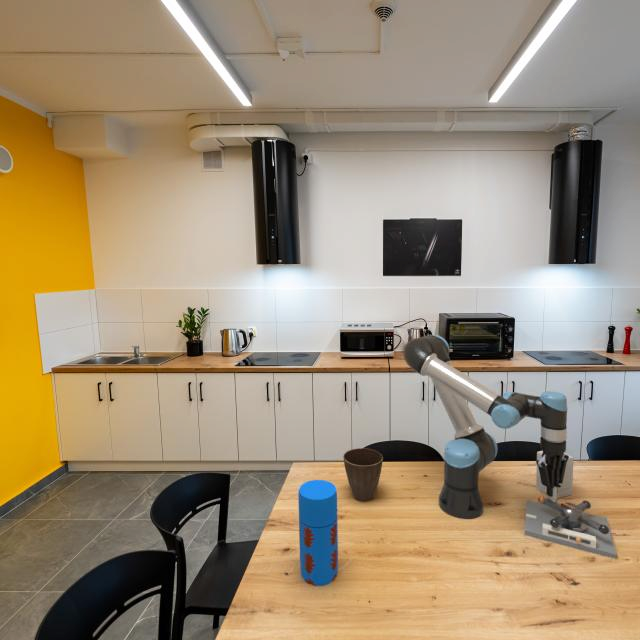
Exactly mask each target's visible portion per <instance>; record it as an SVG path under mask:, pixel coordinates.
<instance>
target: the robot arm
mask: <svg viewBox="0 0 640 640" xmlns="http://www.w3.org/2000/svg"><path fill="white" fill-rule="evenodd" d="M402 351H403V360H404V361H405V363H406V364H407V366H408V367H410V368H411V369H412V370H413V371H414V372H416V373H418V374H419V375H420V376H422V377H425V376H428V377H429V378H430V379H431V381H432V384H433V386H434V388H435V390H436V392H437V394H438V396H439V399H440V400H441V403H442V405H443V407H444V409H445V412H446V413H447V415H448V418H449V420H450V422H451V424H452V427H453V428H454V431H455V433H454V435H453V438H454V439H452V440H450V441H448V442H447V443H446V444H445V447H444V452H443V459H444V460H443V461H444V464H443V465H444V468H443V471H444V472H443V473H444V474H443V479H444V481H443V484H442V485H443V486H442V487H441V490H440V493H439V495H438V506H439V507H440V509H441V510H442V511H444V512H445V513H446V514H448V515H450V516H453V517H455V518H459V519H474V518H477V517H480V516H481V515H482V514H483V512H484V511H483V509H484V504H483V499H482V496H481V494H480V490H479V474H480V472H481V471H483V470H484V469H485V468H486V467H487V466H488V465H491V463H493V462H494V460H495V458H496V456H497V454H498V444H497V442H496V439H495V438H494V436H492V435H491V434H490V433H488V432H487V431H486V430H485V429H484V426H482V425H481V424H478V423H477V421H476V419H475V418H474V415H473V413H472V410H471V409H470V407H469V405H468V403H470V404H471V405H473V406H474V407H476V408H478V409H479V410H481V411H482V412H484V413H486V414H487V415H489V416H490V417H491V421H492V422H493V424H494V425H496V427H498V428H500V429H503V430H507V429H508V430H509V429H510V428H513V427H515V426H516V425H517V424H519V423H520V422H521V421H522V420H523V419H525V418H526V417H527V418H531V419H538V420H540V437H539V439H540V442H539V447H540V449H541V451H543V453H542V459H541V460H540V461H539V460H537V459H536V461H535V464H536V466H537V465H538V467H539V473H540V478H541V483H542V485H544V486H546V487H547V494H546V495H547V496H546V498H547V499H549V500H551V501H553V502H556V503H558V502H557V501H558V498H557V491H558V487H559V488H560V487H561V485H559V484H560V483H561V484H562V483H563V478H564V473H565V468H566V463H567V461H568V459H569V456H570V455H569V454H567V455H565V454H566V451H567V441H566V440H567V437H568V436H567V434H568V433H567V419H568V417H567V416H568V403H567V402H568V401H567V400H568V399H567V396H566V395H565V394H563V392H559V391H550V390H549V391H543V392H541V395H539V396H536V395H531V394H526V393H520V392H516V391H514V392H512V391H506V392H505V393H504V394H503V396H502V395H500V394H498V393H497V392H495V391H494V390H492V389H490V388H488V387H487V386H485V385H483V384H482V383H480V382H478V381H477V380H475V379H473V378H471V377H470V376H468V375H467V374H465V373H463V372H462V371H459V370H458V369H456V368H455V367H453V366H452V365H451V363H452V360H451V358H450V356H449V355H450V345H449V343H448V342H447V340H446V339H445V338H444V337H442V336H440V335H438V334H427V335H424V336H421V337H416V338H411V339H410V340H409V341H408V342H406V344H405V345H404V348H403V350H402ZM564 453H565V454H564ZM568 455H569V456H568ZM559 478H560V479H559Z"/></svg>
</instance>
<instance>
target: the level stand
mask: <svg viewBox="0 0 640 640" xmlns="http://www.w3.org/2000/svg"><path fill="white" fill-rule="evenodd" d="M559 515H560V512H559V511H557V510H555V509H553V508H551V507H549V506H547V505H545V504H541V503H540V502H539V501H535V500H530V499H526V503H525V518H524V519H525V520H524V536H528V537H532V538H536V539H538V540H539V539H540V540H541V541H542V540H543V541H546V542H550V543H554V544H558V545H562V546H565V547H568V548H569V547H570V548H573V549H577V550H581V551H584V552H587V551H588V552H587V553H591V552H592V554H595V553H596V555H598V554H600V555H599V556H602V555H603V557H606V556H607V557H606V558H610V557H611V558H610V559H613V558H615V560H617V556H618V555H617V550H616V547H615V544H614V543H615V542H614V540H613V536H612V532H611V530H610V524H609V522H608V517H606V516H605V517H604V516H600V515H595V514H591V513H587V512H584V511H583V512H582V515H583V516H585V517H587V518H589V519H592V520H594V521H596V522H598V523H600V524H602V525H606V526H607V527H608V528H609V533H608V534H603V533H601V532H600V531H598V530H596V529H594V528H592V527H590V526H588V525H587V530H586V531H585V532H576V531H572V530H568V529H565V528H563V527H562V526H561V525H560V526H559V527H558V528H554V527H552V526H551V524H550V520H551V519H554V518H556V517H557V516H559Z"/></svg>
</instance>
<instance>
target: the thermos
mask: <svg viewBox="0 0 640 640" xmlns="http://www.w3.org/2000/svg"><path fill="white" fill-rule="evenodd" d="M337 491H338V490H337V487H336V485H335V484H334V483H333V482H330V481H328V480H323V479H312V480H308V481H306V482H304V483H303V484H301V485H300V486H299V488H298V493H297V494H298V497H297V498H298V527H299V528H298V533H299V536H298V537H299V539H298V540H299V562H300V574H301V578H302V579H303V581H305V582H306V583H307V584H308V585H311V586H315V587H316V586H317V587H323V586H326V585H329V584H331V583H332V582H333V581H334V580H335V579H336V577H337V575H338V571H339V570H338V567H339V542H338V540H339V536H338V527H339V526H338V525H339V524H338V492H337Z"/></svg>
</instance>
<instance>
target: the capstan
mask: <svg viewBox="0 0 640 640" xmlns="http://www.w3.org/2000/svg"><path fill="white" fill-rule="evenodd" d="M537 500H538V501H537V502H540V503H541V504H545V505H547V506H549V507H551V508H553V509H555V510H557V511H559V512H560V515H559V516H557V517H556V518H554V519H551V520H550V524H551V526H552V527H554V528H558V527H559V526H560V525H561V526H562V527H563V528H565V529H568V530H572V531H576V532H585V531H586V530H587V525H588V526H590V527H592V528H594V529H596V530H598V531H600V532H601V533H603V534H608V533H609V528H610V527H609V528H608V527H607V526H606V525H602V524H600V523H598V522H596V521H594V520H592V519H589V518H587V517H585V516H583V515H582V512H583V513H584V512H585V511H587V510H590V509H591V507H592V504H591V502H590V501H588V500H583V501H581V502H580V503H578V504H575V503H572V502H563V501H560V502H559V503H558V502H557V503H556V502H553V501H551V500H549V499H547V497H545V496H544V495H539V496H538V497H537Z"/></svg>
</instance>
